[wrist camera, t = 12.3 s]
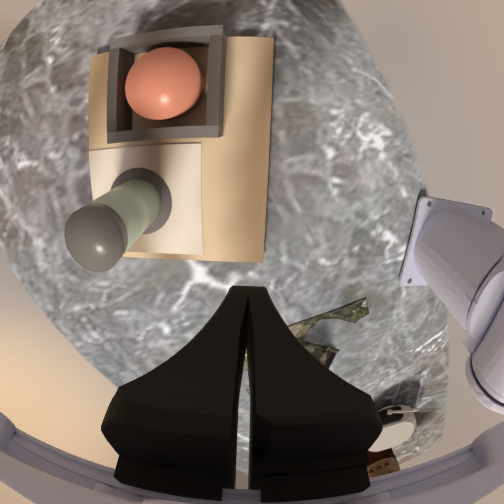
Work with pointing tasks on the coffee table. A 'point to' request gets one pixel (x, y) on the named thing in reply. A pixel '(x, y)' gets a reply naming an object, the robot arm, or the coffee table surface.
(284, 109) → the coffee table surface
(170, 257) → the wooden base tray
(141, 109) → the button
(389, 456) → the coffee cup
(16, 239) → the coffee table surface
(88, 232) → the green capped bottle
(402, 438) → the robot toy
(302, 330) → the eiffel tower figurine
